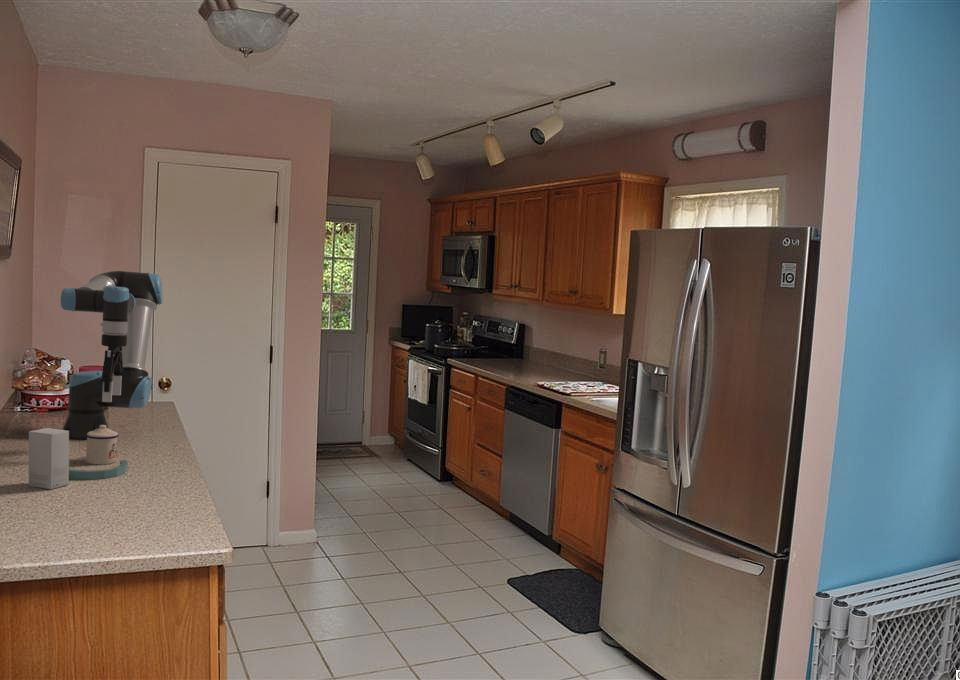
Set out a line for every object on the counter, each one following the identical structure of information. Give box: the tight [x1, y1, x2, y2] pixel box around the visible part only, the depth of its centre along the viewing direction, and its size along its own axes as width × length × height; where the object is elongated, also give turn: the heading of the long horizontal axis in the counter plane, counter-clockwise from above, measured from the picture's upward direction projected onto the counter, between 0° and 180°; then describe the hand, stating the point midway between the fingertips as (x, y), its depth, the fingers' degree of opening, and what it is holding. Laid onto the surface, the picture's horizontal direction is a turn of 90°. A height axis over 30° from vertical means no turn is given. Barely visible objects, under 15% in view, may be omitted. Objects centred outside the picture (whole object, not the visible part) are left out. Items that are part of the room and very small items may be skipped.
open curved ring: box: [69, 458, 129, 481], centre depth 236 cm, size 16×20×2 cm
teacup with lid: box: [85, 425, 119, 466], centre depth 251 cm, size 12×9×12 cm
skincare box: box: [28, 427, 70, 490], centre depth 219 cm, size 8×7×16 cm
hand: (111, 398), depth 260 cm, fingers open, 13 cm apart
